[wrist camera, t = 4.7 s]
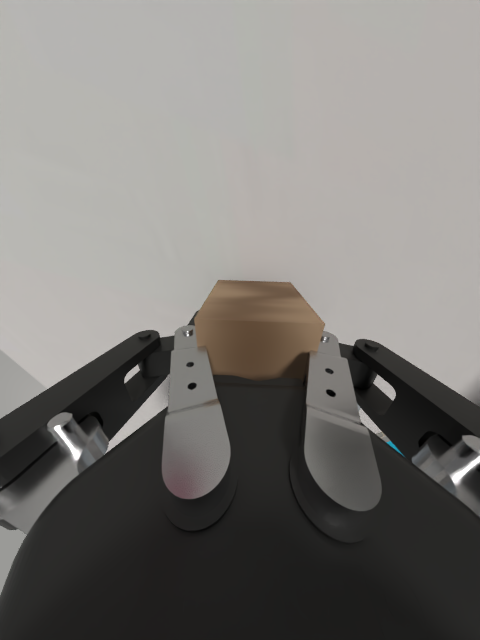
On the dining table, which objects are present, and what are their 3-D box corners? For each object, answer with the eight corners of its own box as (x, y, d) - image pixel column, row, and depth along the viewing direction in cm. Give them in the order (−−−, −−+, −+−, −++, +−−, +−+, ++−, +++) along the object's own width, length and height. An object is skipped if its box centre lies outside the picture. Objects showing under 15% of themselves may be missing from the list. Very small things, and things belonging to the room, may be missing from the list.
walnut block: (290, 282, 12) (325, 323, 6) (280, 342, 14) (300, 409, 9) (218, 280, 12) (194, 318, 7) (220, 339, 14) (203, 404, 9)
